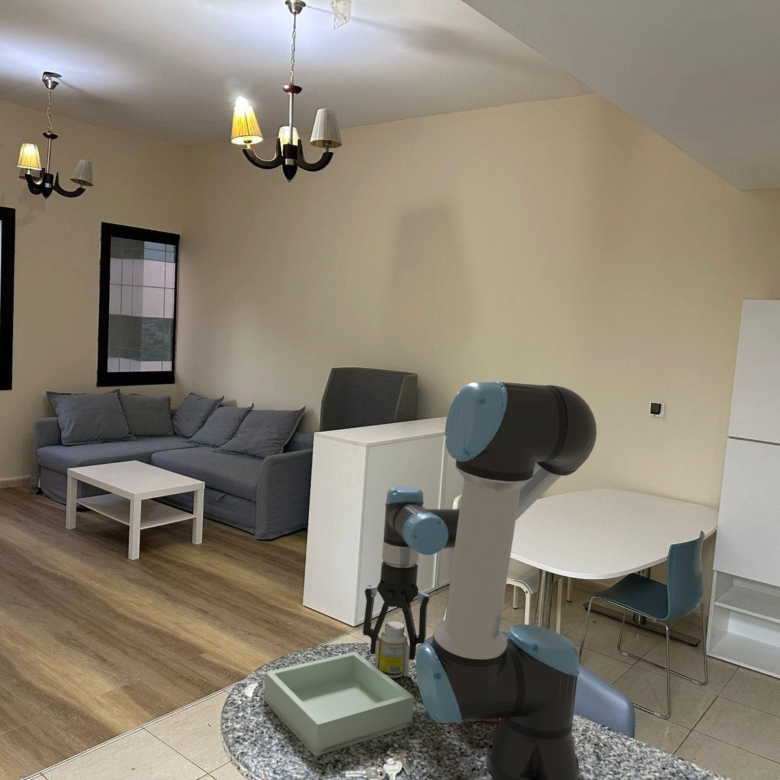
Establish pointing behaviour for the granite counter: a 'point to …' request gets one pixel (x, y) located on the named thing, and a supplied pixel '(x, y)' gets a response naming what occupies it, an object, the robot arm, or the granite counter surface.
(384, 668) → the supplement bottle
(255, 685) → the granite counter surface
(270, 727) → the granite counter surface
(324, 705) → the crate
